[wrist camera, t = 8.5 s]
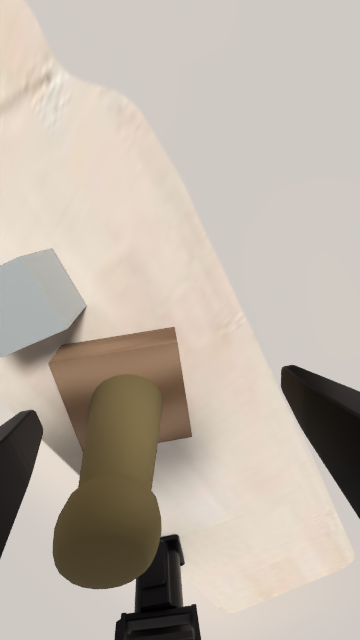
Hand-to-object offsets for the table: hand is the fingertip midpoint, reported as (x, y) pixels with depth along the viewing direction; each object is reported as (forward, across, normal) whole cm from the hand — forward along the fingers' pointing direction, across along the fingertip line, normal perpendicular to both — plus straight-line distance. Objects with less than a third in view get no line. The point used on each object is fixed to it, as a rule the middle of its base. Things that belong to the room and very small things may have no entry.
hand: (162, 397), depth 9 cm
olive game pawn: (+10, +4, +8) cm, 14 cm away
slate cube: (+13, +9, -2) cm, 16 cm away
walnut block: (+13, +4, +8) cm, 16 cm away
